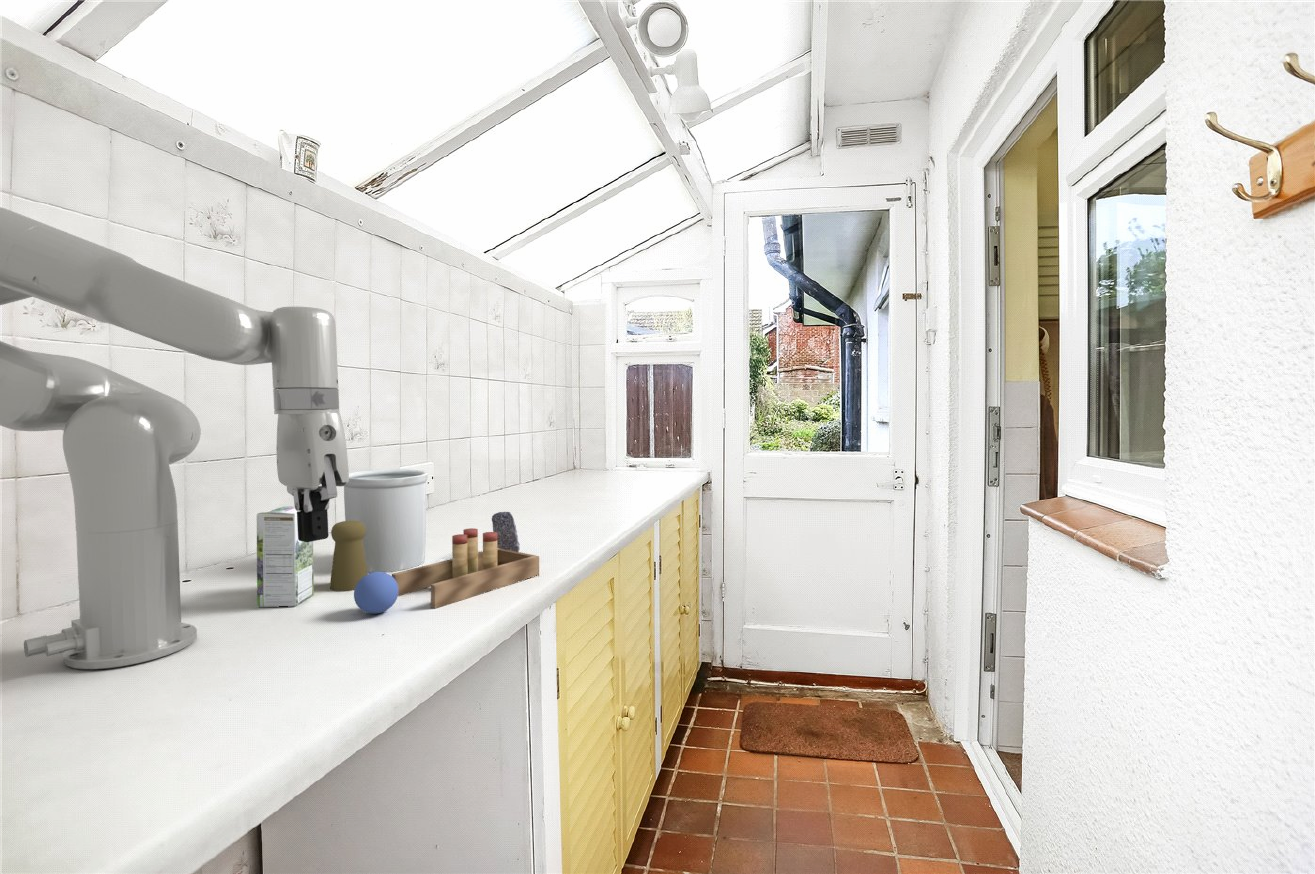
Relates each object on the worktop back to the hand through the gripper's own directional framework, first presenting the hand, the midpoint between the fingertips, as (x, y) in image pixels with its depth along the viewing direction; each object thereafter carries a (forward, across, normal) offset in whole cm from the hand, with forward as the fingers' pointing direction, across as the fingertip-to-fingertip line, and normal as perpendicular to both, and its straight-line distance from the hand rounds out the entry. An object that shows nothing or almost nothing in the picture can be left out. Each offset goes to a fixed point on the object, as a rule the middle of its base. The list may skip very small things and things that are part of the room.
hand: (313, 539), depth 82 cm
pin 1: (+13, +3, -28) cm, 31 cm away
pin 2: (+13, -2, -28) cm, 31 cm away
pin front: (+13, 0, -24) cm, 27 cm away
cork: (+13, +16, -14) cm, 25 cm away
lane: (+13, 0, -26) cm, 29 cm away
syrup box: (+13, +16, -4) cm, 21 cm away
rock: (+13, +10, -42) cm, 45 cm away
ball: (+10, 0, -9) cm, 13 cm away
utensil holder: (+13, +24, -26) cm, 38 cm away
